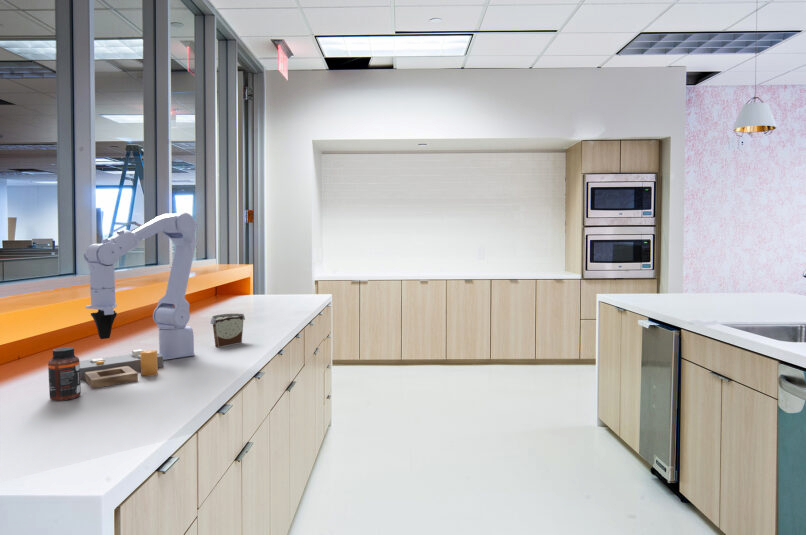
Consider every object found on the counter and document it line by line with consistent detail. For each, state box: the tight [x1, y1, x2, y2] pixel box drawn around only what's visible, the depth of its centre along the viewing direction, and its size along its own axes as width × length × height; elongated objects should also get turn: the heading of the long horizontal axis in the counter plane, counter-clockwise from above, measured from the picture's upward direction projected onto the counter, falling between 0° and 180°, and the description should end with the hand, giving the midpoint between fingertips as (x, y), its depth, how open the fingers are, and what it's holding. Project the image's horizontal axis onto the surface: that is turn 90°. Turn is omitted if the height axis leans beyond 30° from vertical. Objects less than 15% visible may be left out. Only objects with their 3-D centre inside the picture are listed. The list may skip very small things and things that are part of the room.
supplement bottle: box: [47, 346, 82, 402], centre depth 114 cm, size 6×6×11 cm
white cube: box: [91, 357, 104, 363], centre depth 136 cm, size 2×2×2 cm
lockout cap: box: [140, 349, 159, 377], centre depth 134 cm, size 4×4×6 cm
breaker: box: [131, 348, 145, 358], centre depth 142 cm, size 2×2×2 cm
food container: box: [210, 313, 246, 349], centre depth 172 cm, size 12×6×10 cm, turn 145°
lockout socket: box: [84, 366, 139, 389], centre depth 128 cm, size 10×10×2 cm
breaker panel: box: [79, 352, 164, 381], centre depth 138 cm, size 20×9×4 cm, turn 131°
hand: (104, 338), depth 135 cm, fingers closed
